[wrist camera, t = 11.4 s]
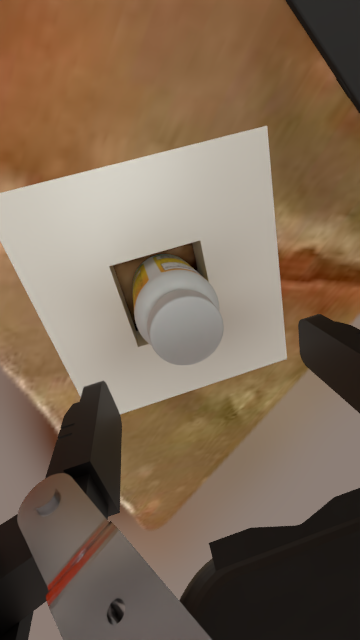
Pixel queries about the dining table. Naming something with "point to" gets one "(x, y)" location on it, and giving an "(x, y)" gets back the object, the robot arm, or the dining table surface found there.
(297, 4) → the phone
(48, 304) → the socket block
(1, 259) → the dining table surface
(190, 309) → the supplement bottle
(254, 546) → the robot arm
